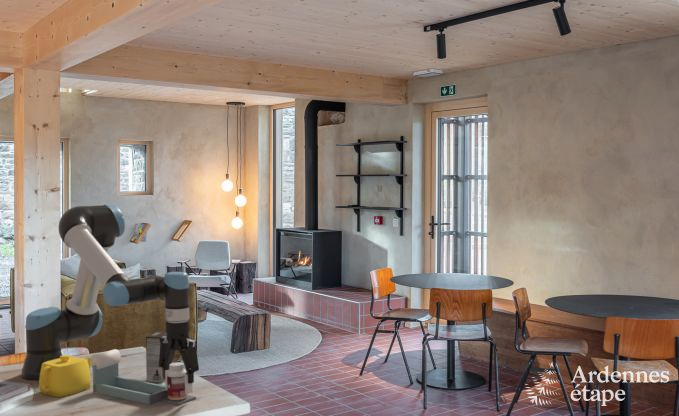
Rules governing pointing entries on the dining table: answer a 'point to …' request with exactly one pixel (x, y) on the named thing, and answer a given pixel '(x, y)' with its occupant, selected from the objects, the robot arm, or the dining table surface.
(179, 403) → the coaster
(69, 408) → the dining table surface
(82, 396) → the dining table surface
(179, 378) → the pill bottle
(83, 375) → the teapot
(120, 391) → the teal rectangular frame
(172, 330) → the robot arm
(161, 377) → the coffee box
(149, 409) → the dining table surface
